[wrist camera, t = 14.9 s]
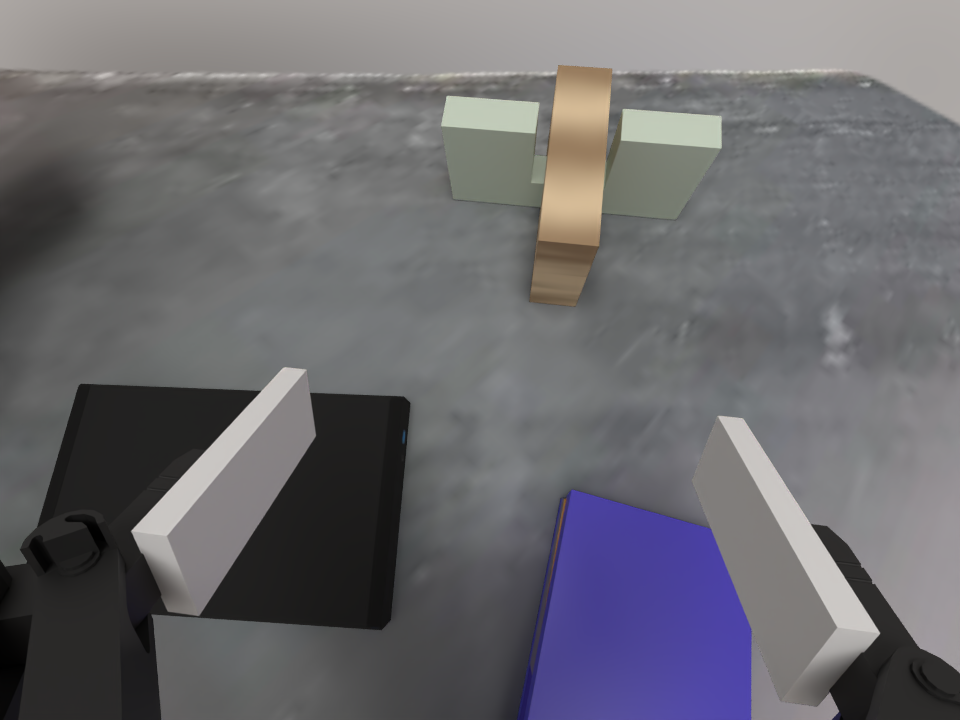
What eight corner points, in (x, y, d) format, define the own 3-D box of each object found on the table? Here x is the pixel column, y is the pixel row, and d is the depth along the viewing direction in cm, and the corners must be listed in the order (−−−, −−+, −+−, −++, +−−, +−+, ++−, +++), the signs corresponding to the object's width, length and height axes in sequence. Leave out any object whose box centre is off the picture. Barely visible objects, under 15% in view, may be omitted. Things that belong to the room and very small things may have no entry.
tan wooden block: (575, 306, 35) (598, 246, 27) (529, 301, 36) (538, 240, 27) (587, 163, 39) (612, 68, 30) (545, 159, 39) (558, 65, 31)
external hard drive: (113, 391, 36) (79, 383, 33) (412, 404, 34) (404, 395, 31) (58, 596, 32) (14, 606, 29) (392, 618, 30) (381, 631, 28)
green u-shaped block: (453, 199, 38) (441, 126, 31) (457, 173, 39) (447, 95, 31) (675, 220, 37) (721, 148, 29) (676, 193, 38) (721, 116, 30)
